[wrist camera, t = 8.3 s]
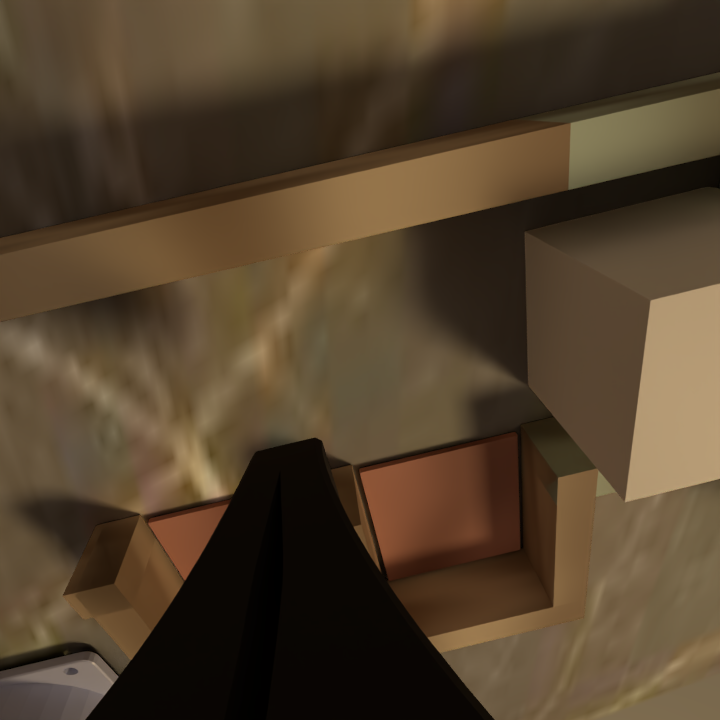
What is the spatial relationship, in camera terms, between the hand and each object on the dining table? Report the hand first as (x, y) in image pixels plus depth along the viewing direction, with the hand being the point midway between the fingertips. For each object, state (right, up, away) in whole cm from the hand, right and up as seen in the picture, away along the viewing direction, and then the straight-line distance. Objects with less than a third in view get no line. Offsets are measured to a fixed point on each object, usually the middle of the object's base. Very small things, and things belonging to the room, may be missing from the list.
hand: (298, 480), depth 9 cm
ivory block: (+9, +4, +4) cm, 10 cm away
